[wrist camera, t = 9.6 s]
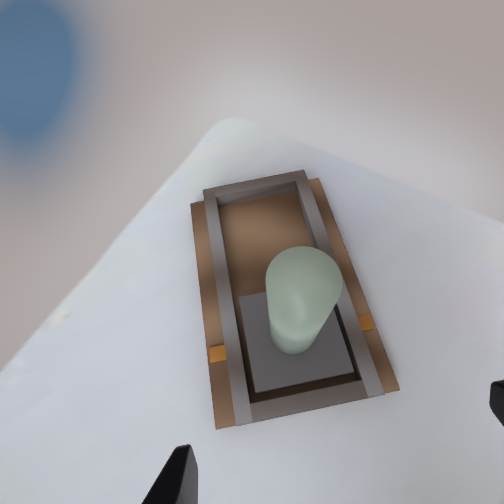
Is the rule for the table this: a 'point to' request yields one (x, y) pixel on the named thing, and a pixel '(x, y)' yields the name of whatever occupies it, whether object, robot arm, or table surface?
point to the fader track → (254, 281)
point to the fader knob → (295, 322)
